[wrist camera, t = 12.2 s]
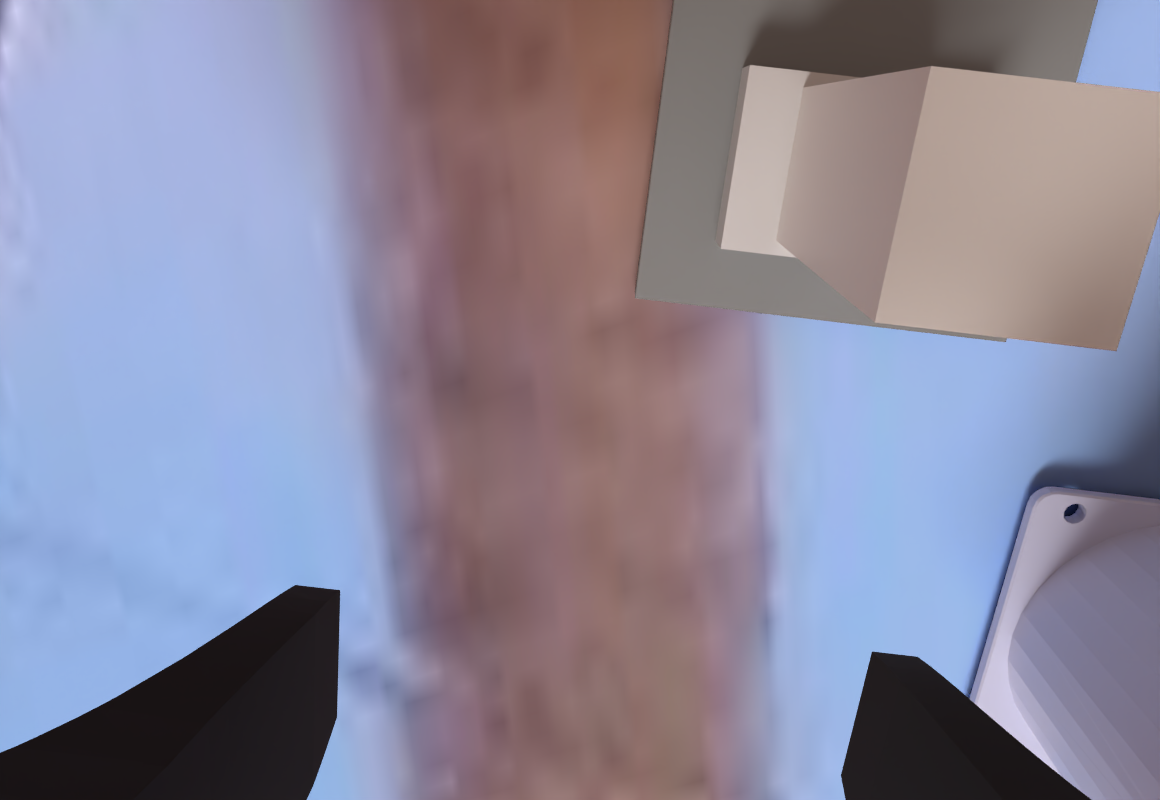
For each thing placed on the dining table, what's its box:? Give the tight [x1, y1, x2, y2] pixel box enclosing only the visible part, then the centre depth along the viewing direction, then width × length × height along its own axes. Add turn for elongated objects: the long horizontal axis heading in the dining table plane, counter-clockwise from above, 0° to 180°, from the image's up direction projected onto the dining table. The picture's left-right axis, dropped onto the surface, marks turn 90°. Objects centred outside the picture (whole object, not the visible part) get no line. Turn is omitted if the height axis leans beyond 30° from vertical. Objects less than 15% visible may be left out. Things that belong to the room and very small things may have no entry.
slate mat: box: [635, 0, 1098, 342], centre depth 19 cm, size 8×9×1 cm
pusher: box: [715, 65, 1160, 351], centre depth 15 cm, size 5×4×9 cm
